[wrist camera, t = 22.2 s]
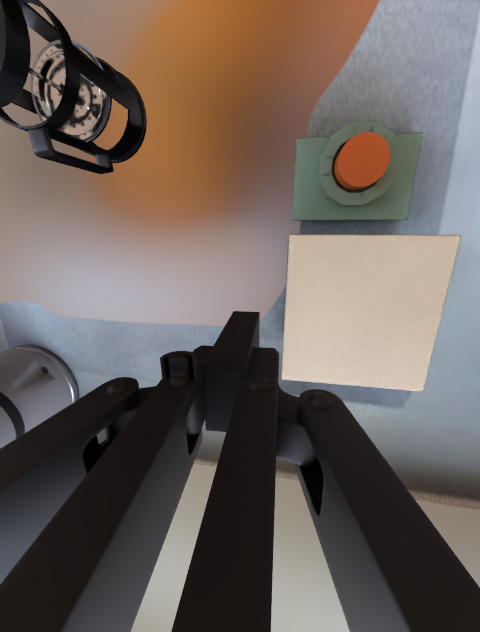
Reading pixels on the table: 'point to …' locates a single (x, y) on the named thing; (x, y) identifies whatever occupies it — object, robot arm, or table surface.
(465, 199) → the table surface
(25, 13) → the french press
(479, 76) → the table surface
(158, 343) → the table surface
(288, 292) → the lid
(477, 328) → the table surface
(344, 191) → the control block
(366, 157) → the button
